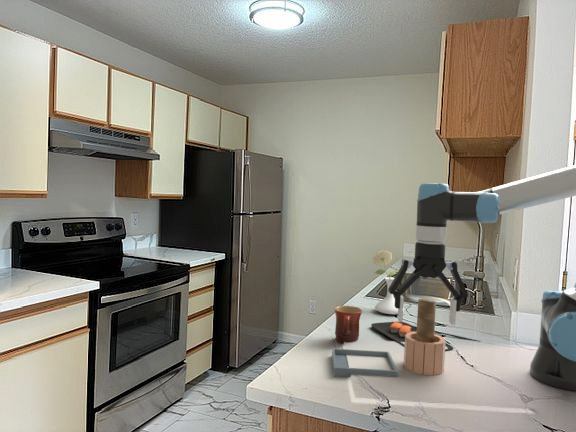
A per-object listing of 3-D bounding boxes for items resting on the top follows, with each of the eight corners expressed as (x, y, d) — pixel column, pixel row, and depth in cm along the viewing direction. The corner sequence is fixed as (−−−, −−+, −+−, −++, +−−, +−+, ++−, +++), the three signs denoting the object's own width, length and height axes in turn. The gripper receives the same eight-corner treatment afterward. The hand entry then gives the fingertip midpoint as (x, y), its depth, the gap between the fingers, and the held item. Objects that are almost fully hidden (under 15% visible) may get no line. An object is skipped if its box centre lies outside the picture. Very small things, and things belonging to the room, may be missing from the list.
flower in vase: (403, 310, 180) (406, 249, 178) (404, 318, 168) (407, 253, 167) (371, 307, 183) (373, 247, 181) (369, 314, 171) (372, 250, 170)
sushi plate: (367, 328, 155) (368, 317, 155) (439, 323, 165) (440, 313, 164) (415, 359, 128) (416, 346, 127) (499, 351, 137) (499, 339, 137)
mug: (334, 335, 144) (335, 304, 144) (361, 338, 143) (362, 307, 142) (330, 348, 133) (331, 314, 132) (359, 351, 131) (361, 317, 130)
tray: (388, 359, 125) (388, 351, 125) (397, 380, 111) (398, 371, 111) (331, 356, 126) (332, 348, 126) (334, 376, 112) (334, 367, 112)
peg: (429, 364, 120) (433, 298, 119) (434, 371, 115) (438, 303, 114) (413, 363, 120) (416, 298, 119) (416, 370, 116) (420, 302, 115)
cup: (437, 364, 122) (438, 332, 122) (448, 379, 112) (450, 345, 112) (400, 362, 123) (402, 330, 122) (408, 377, 113) (410, 343, 112)
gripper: (473, 242, 119) (469, 320, 120) (380, 238, 120) (376, 315, 121) (484, 246, 111) (479, 328, 113) (384, 241, 113) (380, 323, 114)
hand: (425, 322), depth 117 cm, fingers open, 13 cm apart
